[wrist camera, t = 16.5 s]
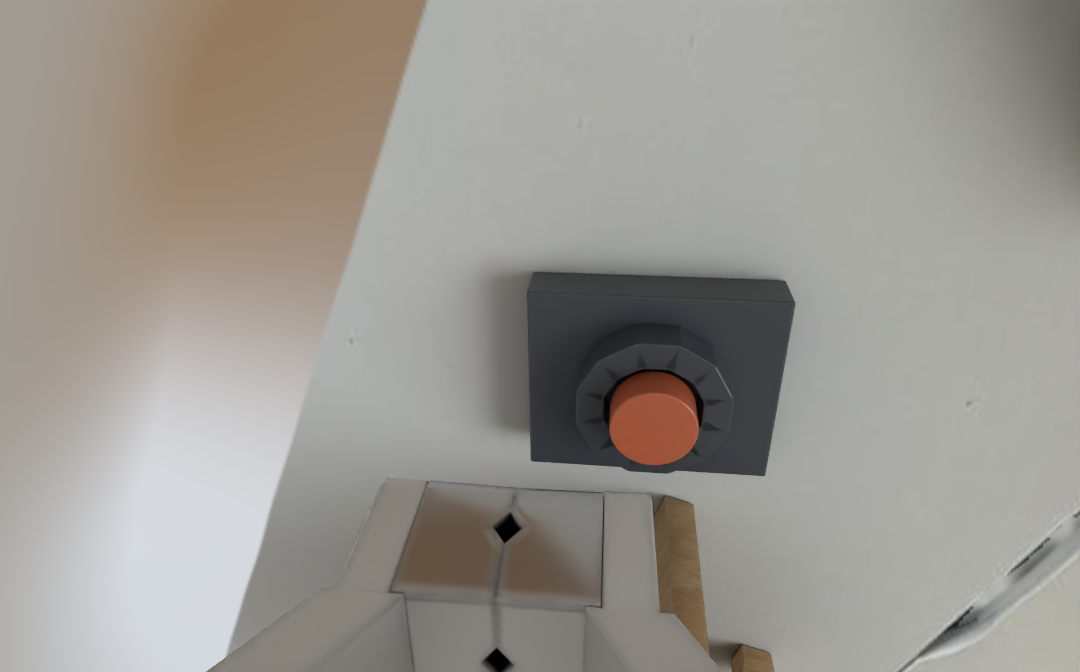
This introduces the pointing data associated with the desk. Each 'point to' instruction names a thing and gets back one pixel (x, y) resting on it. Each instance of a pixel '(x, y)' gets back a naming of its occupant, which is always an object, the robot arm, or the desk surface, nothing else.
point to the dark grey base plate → (656, 363)
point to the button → (653, 418)
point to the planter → (690, 580)
